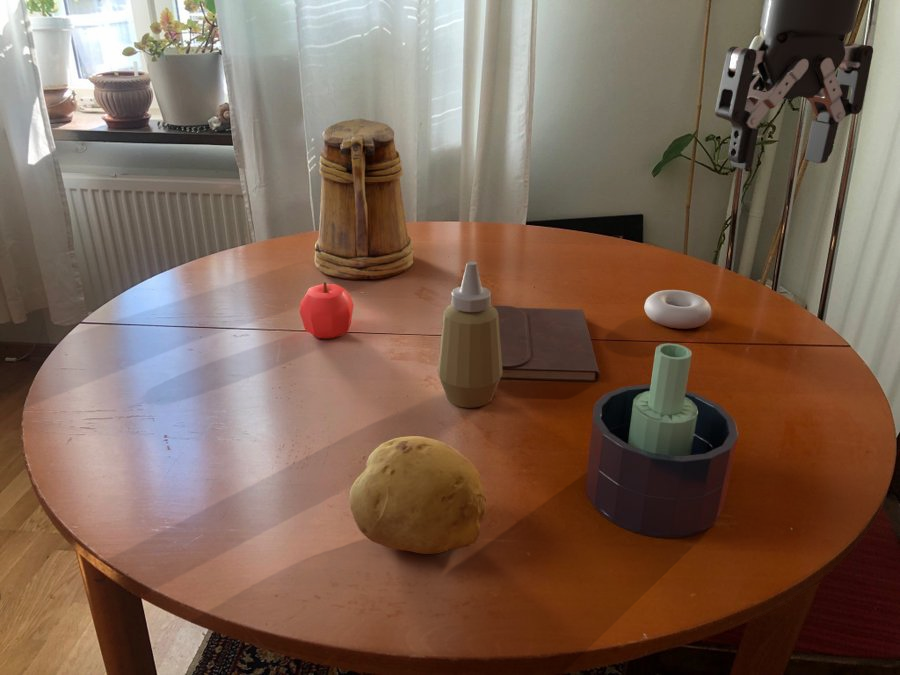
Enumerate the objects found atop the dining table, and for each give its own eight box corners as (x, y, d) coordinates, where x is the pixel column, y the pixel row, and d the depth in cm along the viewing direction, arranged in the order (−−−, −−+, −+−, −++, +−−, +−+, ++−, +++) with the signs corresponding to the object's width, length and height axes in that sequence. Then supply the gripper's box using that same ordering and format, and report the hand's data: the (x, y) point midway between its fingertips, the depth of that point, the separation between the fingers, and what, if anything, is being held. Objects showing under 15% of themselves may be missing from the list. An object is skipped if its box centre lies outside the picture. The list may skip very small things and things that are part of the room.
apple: (306, 347, 106) (301, 296, 102) (297, 325, 113) (293, 276, 109) (360, 339, 108) (358, 289, 105) (349, 318, 115) (346, 269, 111)
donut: (665, 301, 121) (630, 317, 115) (668, 281, 120) (632, 297, 114) (721, 320, 115) (687, 338, 109) (725, 300, 113) (691, 317, 107)
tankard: (407, 243, 146) (404, 113, 135) (422, 289, 126) (420, 139, 114) (314, 248, 144) (303, 116, 133) (314, 295, 123) (301, 143, 112)
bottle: (680, 475, 78) (704, 340, 71) (684, 511, 73) (710, 369, 66) (622, 468, 80) (640, 334, 72) (622, 503, 74) (641, 362, 67)
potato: (484, 575, 66) (487, 484, 62) (345, 569, 67) (337, 479, 62) (486, 502, 75) (488, 418, 71) (363, 497, 76) (358, 414, 71)
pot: (714, 463, 81) (728, 392, 77) (729, 547, 69) (746, 469, 65) (588, 448, 84) (595, 378, 80) (582, 527, 72) (590, 450, 68)
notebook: (583, 318, 115) (584, 307, 114) (599, 381, 97) (600, 368, 96) (486, 316, 116) (486, 304, 115) (484, 378, 98) (485, 365, 97)
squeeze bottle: (454, 376, 99) (455, 247, 91) (511, 389, 95) (517, 257, 87) (426, 404, 92) (424, 268, 84) (486, 420, 89) (490, 280, 81)
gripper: (777, -28, 57) (740, 180, 64) (920, -28, 61) (870, 168, 68) (717, -28, 64) (690, 161, 71) (850, -28, 68) (811, 151, 75)
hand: (778, 164), depth 70 cm, fingers open, 8 cm apart
